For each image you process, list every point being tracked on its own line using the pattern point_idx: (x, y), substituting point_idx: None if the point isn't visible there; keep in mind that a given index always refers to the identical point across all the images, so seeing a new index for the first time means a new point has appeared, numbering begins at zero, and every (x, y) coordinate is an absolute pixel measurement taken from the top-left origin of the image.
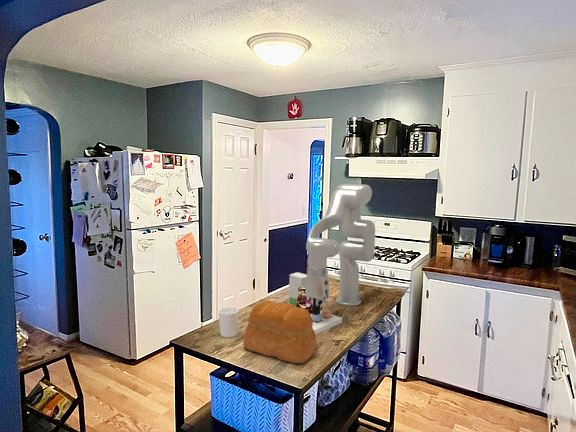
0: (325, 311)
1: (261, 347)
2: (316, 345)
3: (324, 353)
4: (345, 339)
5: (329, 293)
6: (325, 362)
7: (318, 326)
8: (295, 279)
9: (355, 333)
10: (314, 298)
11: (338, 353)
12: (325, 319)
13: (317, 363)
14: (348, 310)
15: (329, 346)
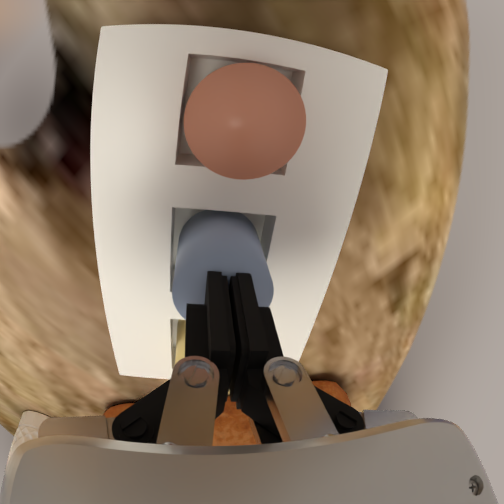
0: (240, 132)
1: None
2: (350, 403)
3: (368, 370)
4: (423, 241)
5: (482, 479)
6: (381, 391)
7: (294, 323)
8: None
9: (451, 143)
10: (169, 431)
11: (410, 343)
12: (276, 190)
13: (363, 404)
14: None
15: (373, 333)
